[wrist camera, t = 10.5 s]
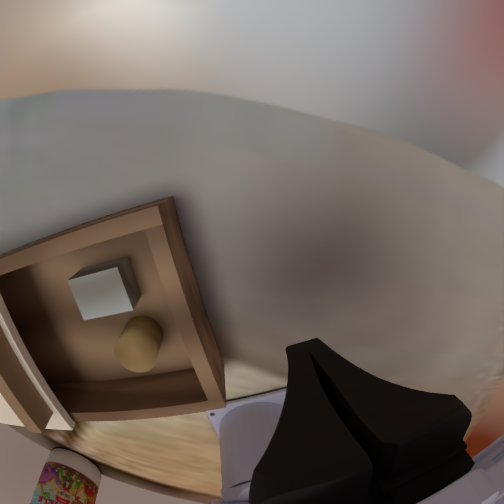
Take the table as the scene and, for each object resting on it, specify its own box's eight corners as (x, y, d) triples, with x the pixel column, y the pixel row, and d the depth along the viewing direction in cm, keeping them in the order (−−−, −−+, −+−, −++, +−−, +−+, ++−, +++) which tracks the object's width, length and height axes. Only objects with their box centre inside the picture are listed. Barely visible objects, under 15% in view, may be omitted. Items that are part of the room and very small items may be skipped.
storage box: (223, 365, 23) (226, 407, 18) (42, 387, 22) (23, 418, 18) (172, 196, 19) (157, 205, 14) (-18, 263, 18) (-51, 281, 14)
